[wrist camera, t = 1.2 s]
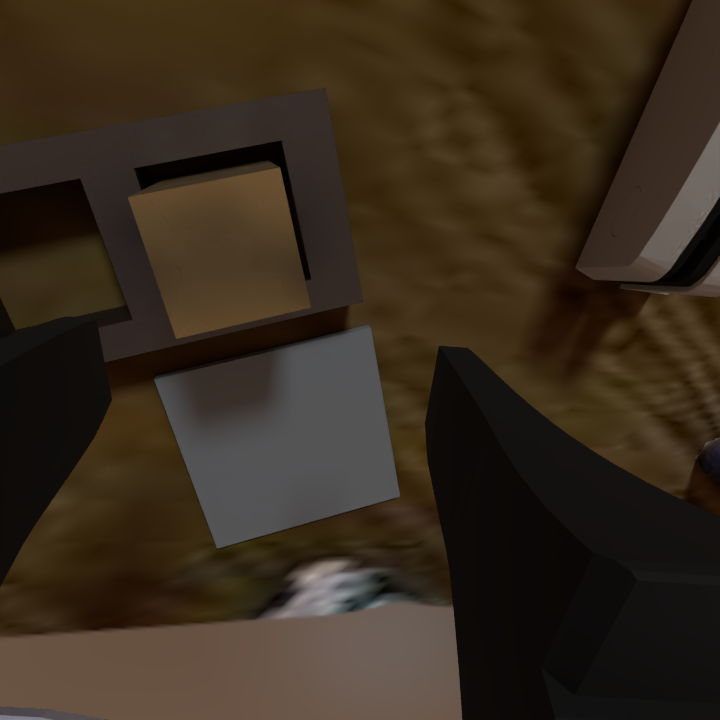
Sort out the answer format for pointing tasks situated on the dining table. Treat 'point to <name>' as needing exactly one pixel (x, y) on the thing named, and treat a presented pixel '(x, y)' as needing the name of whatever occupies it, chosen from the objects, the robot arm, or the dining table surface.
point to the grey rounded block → (669, 177)
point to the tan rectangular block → (222, 246)
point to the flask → (710, 459)
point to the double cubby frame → (185, 140)
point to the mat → (283, 434)
